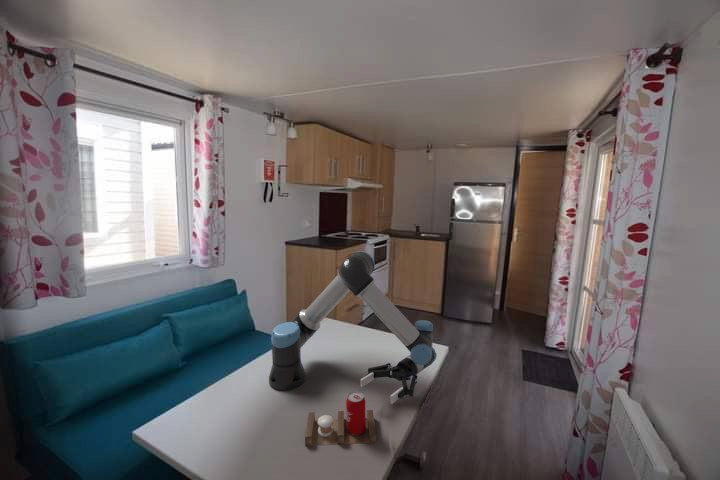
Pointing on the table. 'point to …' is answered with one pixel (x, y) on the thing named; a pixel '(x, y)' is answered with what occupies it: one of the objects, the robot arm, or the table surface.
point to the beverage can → (355, 413)
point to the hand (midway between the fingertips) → (375, 391)
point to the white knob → (325, 426)
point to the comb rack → (339, 431)
